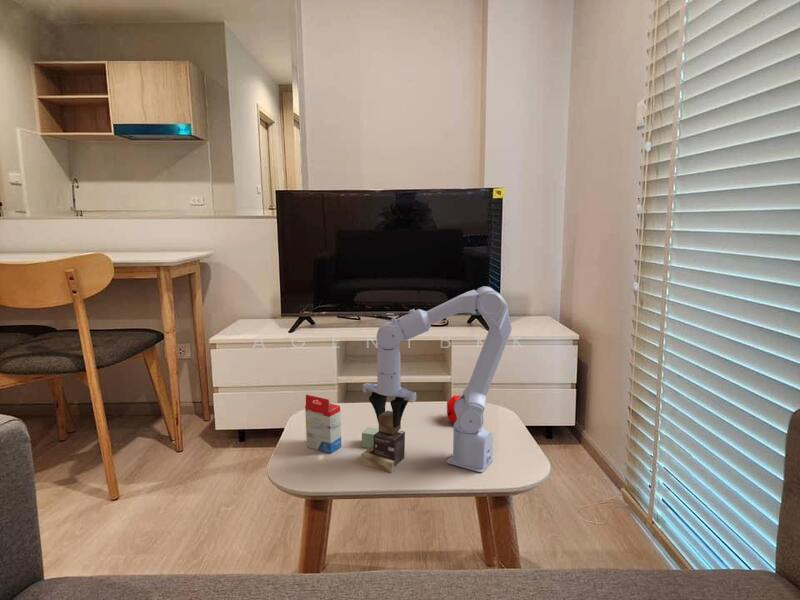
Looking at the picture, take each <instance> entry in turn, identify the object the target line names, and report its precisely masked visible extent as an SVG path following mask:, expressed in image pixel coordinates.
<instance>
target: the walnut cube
mask: <svg viewBox="0 0 800 600" xmlns="http://www.w3.org/2000/svg"><path fill="white" fill-rule="evenodd" d="M401 422H402V421H401ZM401 422H400V425H399V426H398V427H394V426H393V412H392V410H385V412H384V413H382V414H380V415H379V423H378V429H379V431H381V432H385V433H389V434H394V433H395V432H397V431H398V430H401V429H402V427H401V424H402V423H401Z"/></svg>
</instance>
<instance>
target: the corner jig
mask: <svg viewBox="0 0 800 600" xmlns="http://www.w3.org/2000/svg"><path fill="white" fill-rule="evenodd" d="M373 449H374V446H372V447H371V448H368V449H367V450H365V451H363V452H362V453H361V455H360V456H361V459H360V461H361V464H363V465H366V466H369V467H372V468H375V469H378V470H382V471H385V472H387V473H392V474H393V472H395V467H394V461H393V460H389V459H386V458H383V457H379V456H376V455H373Z"/></svg>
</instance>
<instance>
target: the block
mask: <svg viewBox="0 0 800 600" xmlns="http://www.w3.org/2000/svg"><path fill="white" fill-rule="evenodd" d="M377 432H379V427H378V428H377V427H370V426H367V427H366V428H365V429H364V430H363V431H362V432H361V447H362V448H368V449H369V448H371V447H372V446H374V442H373V440H374V435H375V434H376V433H377Z"/></svg>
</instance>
